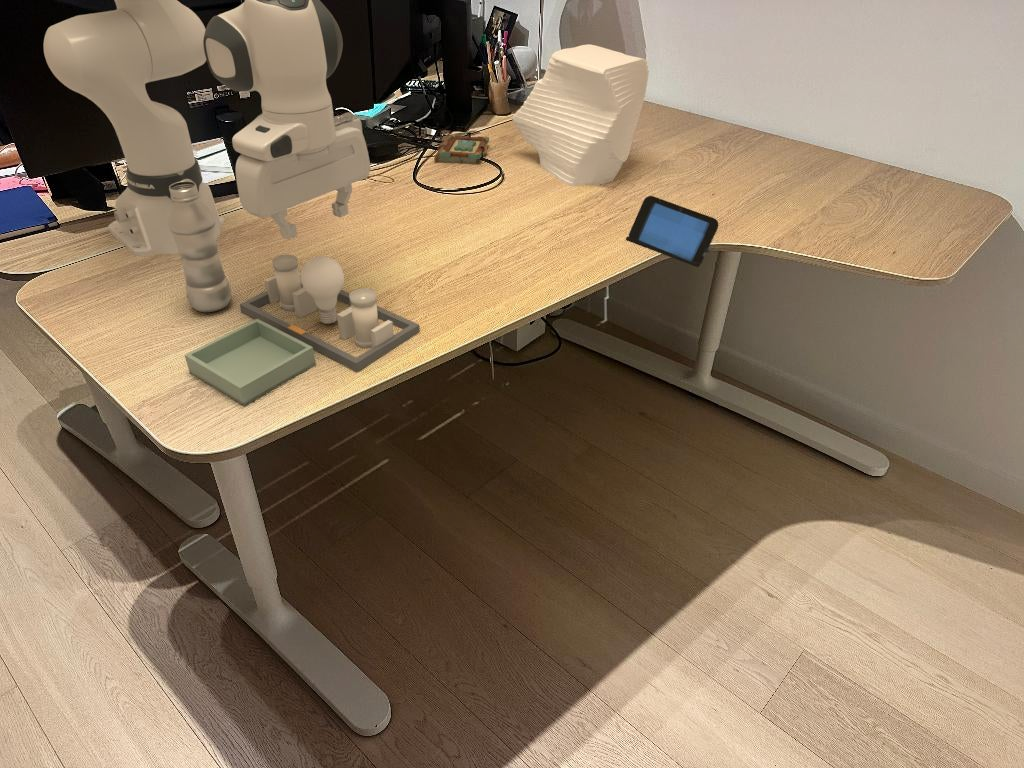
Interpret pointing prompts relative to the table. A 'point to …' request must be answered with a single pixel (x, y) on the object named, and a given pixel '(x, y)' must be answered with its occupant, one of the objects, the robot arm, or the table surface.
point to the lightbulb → (323, 285)
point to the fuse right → (364, 315)
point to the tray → (250, 361)
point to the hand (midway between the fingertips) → (316, 225)
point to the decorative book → (461, 149)
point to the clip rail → (305, 305)
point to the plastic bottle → (198, 248)
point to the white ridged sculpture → (584, 113)
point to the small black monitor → (673, 230)
